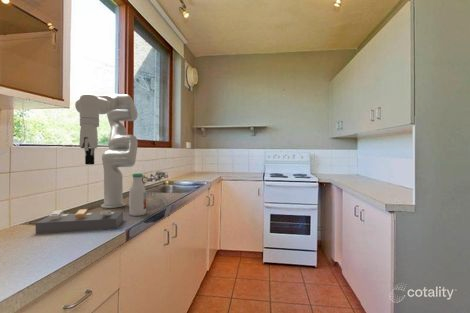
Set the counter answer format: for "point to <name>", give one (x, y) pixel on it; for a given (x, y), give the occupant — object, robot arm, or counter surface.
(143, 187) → the milk bottle
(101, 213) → the white rocker
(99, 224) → the power strip
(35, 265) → the counter surface
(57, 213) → the white rocker
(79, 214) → the amber rocker
